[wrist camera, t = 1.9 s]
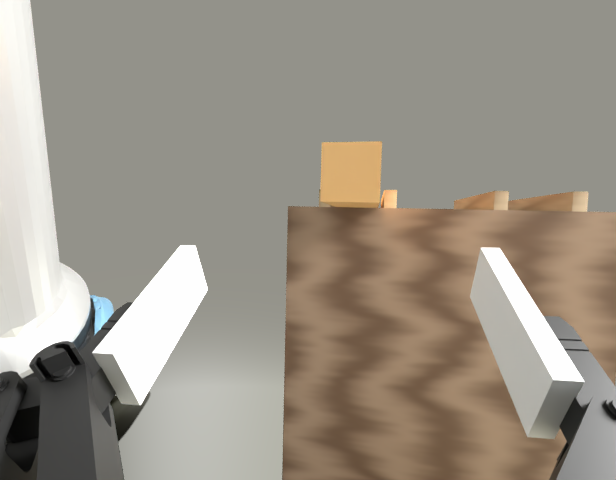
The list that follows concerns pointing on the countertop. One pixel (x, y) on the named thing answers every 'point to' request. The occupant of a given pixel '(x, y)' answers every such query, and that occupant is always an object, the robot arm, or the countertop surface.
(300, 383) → the brown patterned box
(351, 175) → the bar
